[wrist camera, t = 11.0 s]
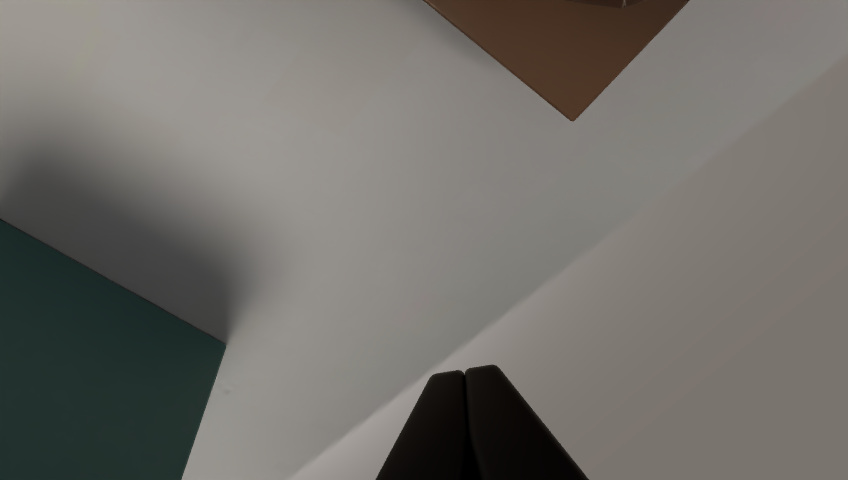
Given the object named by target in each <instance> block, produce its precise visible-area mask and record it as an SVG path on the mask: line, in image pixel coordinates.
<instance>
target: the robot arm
mask: <svg viewBox="0 0 848 480" xmlns="http://www.w3.org/2000/svg"><path fill="white" fill-rule="evenodd" d="M376 480H589V479H588V478H587V477H586V476H585V474H584V473H583V472H582V470H581V469H580V468H579V467H578V465H577V464H576V463H575V462H574V461H573V460H572V458H571V457H570V456H569V454H568V453H567V452H566V451H565V449H564V448H563V447H562V446H561V444H560V443H559V442H558V441H557V439H556V438H555V437H554V436H553V434H552V433H551V432H550V431H549V429H548V428H547V427H546V426H545V424H544V423H543V422H542V421H541V419H540V418H539V417H538V416H537V415H536V413H535V412H534V411H533V410H532V408H531V407H530V406H529V405H528V403H527V402H526V401H525V400H524V398H523V397H522V396H521V395H520V393H519V392H518V391H517V390H516V389H515V387H514V386H513V385H512V383H511V382H510V381H509V380H508V378H507V377H506V376H505V375H504V373H503V372H502V371H501V370H500V368H498V367H497V366H495V365H486V366H481V367H474V368H469V369H467V370H466V372H465V375H464V373H463V372H462V371H460V370H456V371H450V372H443V373H437V374H434V375H432V376H431V377H430V379H429V380H428V382H427V384H426V386H425V388H424V390H423V392H422V394H421V396H420V397H419V399H418V401H417V403H416V405H415V407H414V409H413V411H412V412H411V414H410V416H409V418H408V420H407V422H406V424H405V426H404V428H403V430H402V431H401V433H400V435H399V437H398V439H397V440H396V442H395V444H394V446H393V448H392V450H391V452H390V454H389V455H388V457H387V459H386V461H385V463H384V465H383V467H382V469H381V470H380V472H379V474H378V476H377V478H376Z"/></svg>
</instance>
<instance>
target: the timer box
mask: <svg viewBox="0 0 848 480" xmlns="http://www.w3.org/2000/svg"><path fill="white" fill-rule="evenodd" d="M423 1H424V2H426V3H427V4H428V5H429V6H430V7H432V8H433V9H434V10H435V11H437V12H438V13H439V14H440V15H441V16H443V17H444V18H445V19H446V20H448V21H449V22H450V23H451V24H453V25H454V26H455V27H456V28H457V29H459V30H460V31H461V32H462V33H464V34H465V35H466V36H467V37H468V38H470V39H471V40H472V41H473V42H475V43H476V44H477V45H478V46H479V47H481V48H482V49H483V50H484V51H486V52H487V53H488V54H489V55H490V56H492V57H493V58H494V59H495V60H497V61H498V62H499V63H500V64H502V65H503V66H504V67H505V68H506V69H508V70H509V71H510V72H511V73H513V74H514V75H515V76H516V77H517V78H519V79H520V80H521V81H522V82H524V83H525V84H526V85H527V86H528V87H530V88H531V89H532V90H533V91H535V92H536V93H537V94H538V95H539V96H541V97H542V98H543V99H544V100H546V101H547V102H548V103H549V104H551V105H552V106H553V107H554V108H555V109H557V110H558V111H559V112H560V113H562V114H563V115H564V116H565V117H566V118H568V119H569V120H570V121H575V120H576V118H577V117H578V116H579V115H580V114H581V113H582V112H583V111H584V110H585V109H586V108H587V107H588V106H589V105H590V104H591V103H592V102H593V101H594V100H595V99H596V98H597V97H598V95H599V94H600V93H601V92H602V91H603V90H604V89H605V88H606V87H607V86H608V85H609V84H610V83H611V82H612V81H613V80H614V79H615V78H616V77H617V76H618V75H619V74H620V73H621V71H622V70H623V69H624V68H625V67H626V66H627V65H628V64H629V63H630V62H631V61H632V60H633V59H634V58H635V57H636V56H637V55H638V54H639V53H640V52H641V51H642V50H643V48H644V47H645V46H646V45H647V44H648V43H649V42H650V41H651V40H652V39H653V38H654V37H655V36H656V35H657V34H658V33H659V32H660V31H661V30H662V29H663V28H664V27H665V25H666V24H667V23H668V22H669V21H670V20H671V19H672V18H673V17H674V16H675V15H676V14H677V13H678V12H679V11H680V10H681V9H682V8H683V7H684V6H685V5H686V4H687V3H688V1H689V0H423Z"/></svg>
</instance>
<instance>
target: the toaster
mask: <svg viewBox="0 0 848 480" xmlns="http://www.w3.org/2000/svg"><path fill="white" fill-rule="evenodd" d="M225 349H226V345H225V344H223V343H222V342H220V341H218V340H216V339H214V338H213V337H211V336H209V335H207V334H205V333H204V332H202V331H200V330H198V329H196V328H195V327H193V326H191V325H189V324H187V323H186V322H184V321H182V320H180V319H178V318H177V317H175V316H173V315H171V314H169V313H168V312H166V311H164V310H162V309H160V308H159V307H157V306H155V305H153V304H151V303H150V302H148V301H146V300H144V299H142V298H141V297H139V296H137V295H135V294H133V293H132V292H130V291H128V290H126V289H124V288H123V287H121V286H119V285H117V284H115V283H114V282H112V281H110V280H108V279H106V278H105V277H103V276H101V275H99V274H97V273H96V272H94V271H92V270H90V269H88V268H87V267H85V266H83V265H81V264H79V263H78V262H76V261H74V260H72V259H70V258H69V257H67V256H65V255H63V254H62V253H60V252H58V251H56V250H54V249H53V248H51V247H49V246H47V245H45V244H44V243H42V242H40V241H38V240H36V239H35V238H33V237H31V236H29V235H27V234H26V233H24V232H22V231H20V230H18V229H17V228H15V227H13V226H11V225H9V224H8V223H6V222H4V221H2V220H0V480H181V479H182V476H183V473H184V470H185V467H186V464H187V461H188V458H189V455H190V452H191V449H192V446H193V444H194V441H195V438H196V435H197V432H198V429H199V426H200V423H201V420H202V417H203V414H204V411H205V408H206V405H207V402H208V399H209V396H210V394H211V391H212V388H213V385H214V382H215V379H216V376H217V373H218V370H219V367H220V364H221V361H222V358H223V355H224V352H225Z"/></svg>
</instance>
